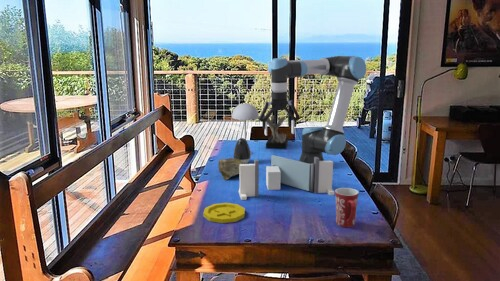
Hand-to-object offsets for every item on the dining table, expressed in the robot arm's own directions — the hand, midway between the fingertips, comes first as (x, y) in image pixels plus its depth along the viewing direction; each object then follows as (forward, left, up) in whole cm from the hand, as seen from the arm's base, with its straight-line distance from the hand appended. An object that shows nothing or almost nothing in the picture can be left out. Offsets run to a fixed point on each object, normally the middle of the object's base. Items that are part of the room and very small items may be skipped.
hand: (279, 134), depth 204 cm
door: (-5, +5, -25) cm, 26 cm away
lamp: (+8, -61, -26) cm, 67 cm away
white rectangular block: (+4, +3, -26) cm, 26 cm away
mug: (-16, +53, -26) cm, 61 cm away
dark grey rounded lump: (+13, -39, -26) cm, 49 cm away
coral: (-14, -80, -26) cm, 86 cm away
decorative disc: (+30, +35, -26) cm, 53 cm away
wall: (-1, +15, -26) cm, 29 cm away
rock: (+22, -16, -26) cm, 38 cm away
